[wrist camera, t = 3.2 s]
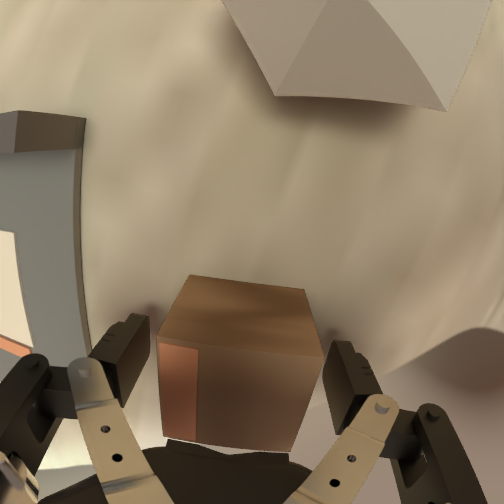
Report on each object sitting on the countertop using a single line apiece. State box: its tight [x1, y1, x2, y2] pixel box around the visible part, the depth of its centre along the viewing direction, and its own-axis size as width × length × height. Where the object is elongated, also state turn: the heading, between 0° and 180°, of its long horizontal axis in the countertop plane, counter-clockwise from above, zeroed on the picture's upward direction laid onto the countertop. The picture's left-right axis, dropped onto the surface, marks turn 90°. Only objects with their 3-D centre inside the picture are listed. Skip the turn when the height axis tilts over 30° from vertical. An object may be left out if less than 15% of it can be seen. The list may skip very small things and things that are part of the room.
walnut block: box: [156, 275, 324, 452], centre depth 12 cm, size 5×5×5 cm
